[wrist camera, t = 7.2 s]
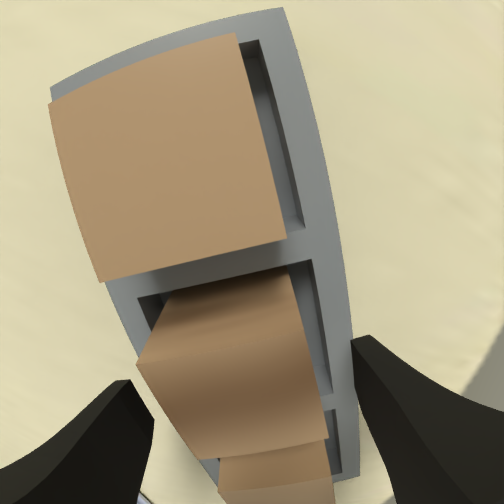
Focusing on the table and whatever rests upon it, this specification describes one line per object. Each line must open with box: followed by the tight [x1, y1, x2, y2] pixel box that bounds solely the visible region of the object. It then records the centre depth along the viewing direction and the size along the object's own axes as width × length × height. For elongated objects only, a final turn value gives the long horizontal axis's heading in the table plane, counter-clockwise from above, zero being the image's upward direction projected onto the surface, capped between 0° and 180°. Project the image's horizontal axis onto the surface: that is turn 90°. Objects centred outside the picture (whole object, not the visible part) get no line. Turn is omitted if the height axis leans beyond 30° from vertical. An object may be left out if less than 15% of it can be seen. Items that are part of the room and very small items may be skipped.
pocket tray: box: [48, 7, 360, 504], centre depth 11 cm, size 22×8×6 cm, turn 14°
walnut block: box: [136, 265, 329, 460], centre depth 11 cm, size 4×4×5 cm
